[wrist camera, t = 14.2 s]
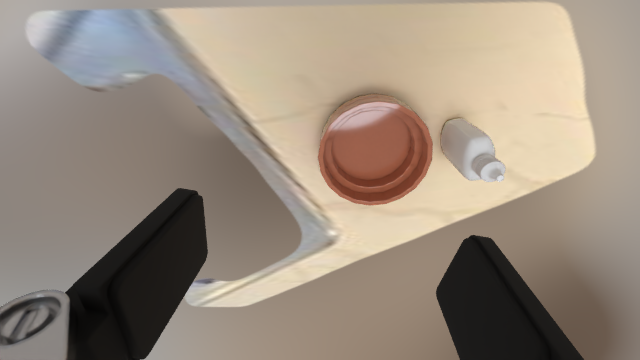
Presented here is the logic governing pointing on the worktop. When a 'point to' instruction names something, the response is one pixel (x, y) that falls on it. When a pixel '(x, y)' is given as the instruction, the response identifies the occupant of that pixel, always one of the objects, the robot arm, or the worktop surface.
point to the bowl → (374, 150)
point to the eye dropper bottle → (471, 151)
